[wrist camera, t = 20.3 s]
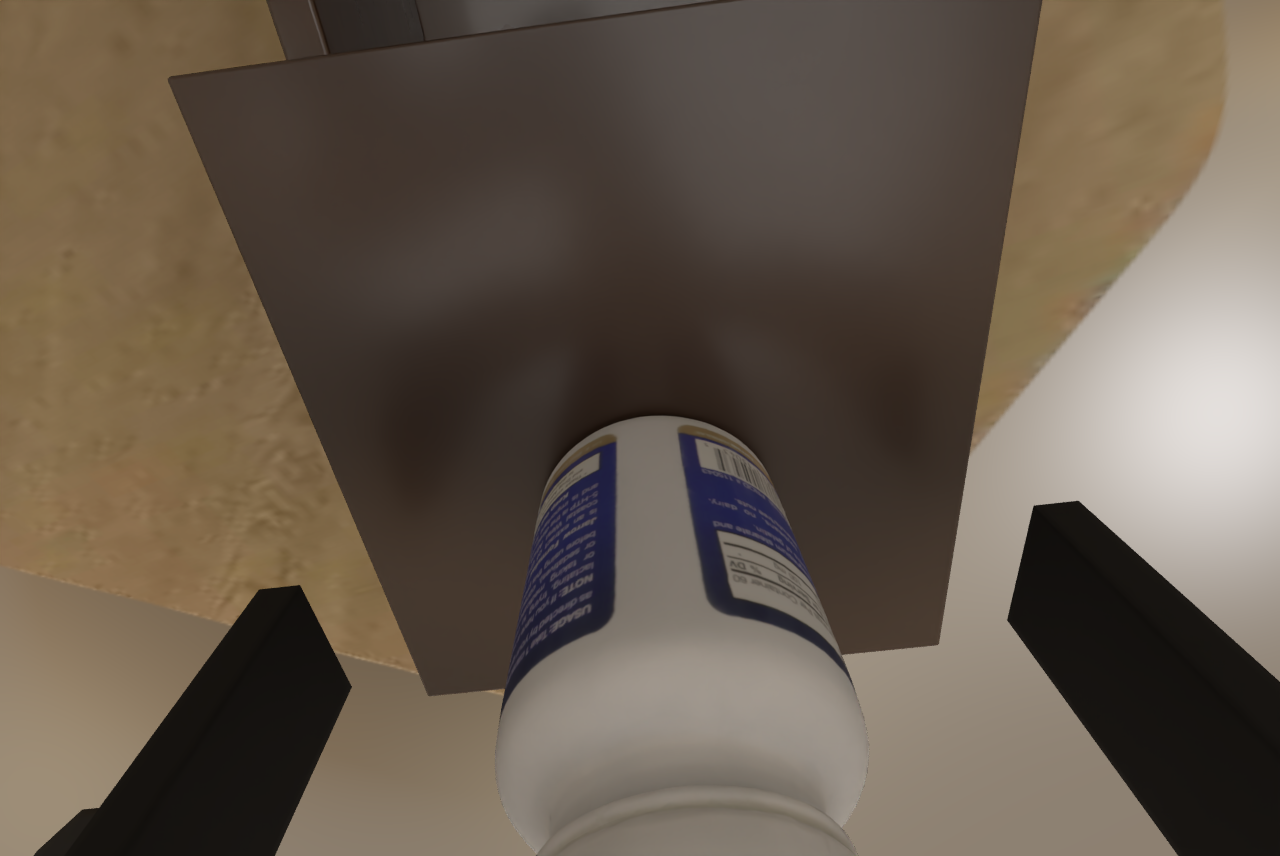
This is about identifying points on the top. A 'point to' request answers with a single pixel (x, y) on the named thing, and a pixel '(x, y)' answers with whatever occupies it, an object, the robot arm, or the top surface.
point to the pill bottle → (674, 662)
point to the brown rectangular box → (636, 278)
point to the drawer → (423, 20)
